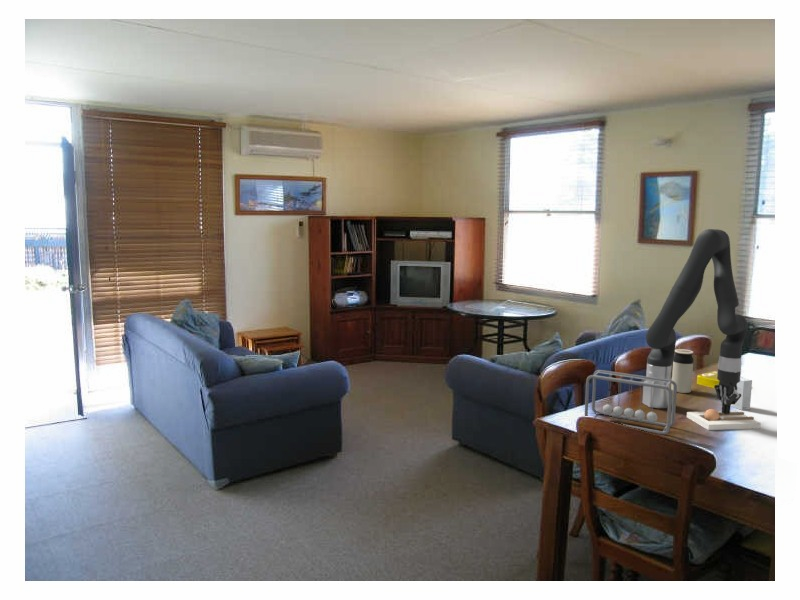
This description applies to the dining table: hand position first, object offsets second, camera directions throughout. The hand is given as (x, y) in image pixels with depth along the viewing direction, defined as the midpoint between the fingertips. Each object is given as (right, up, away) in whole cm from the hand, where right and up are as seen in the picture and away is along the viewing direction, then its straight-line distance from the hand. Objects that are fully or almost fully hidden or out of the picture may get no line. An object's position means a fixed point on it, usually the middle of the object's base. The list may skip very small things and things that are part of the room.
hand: (725, 413), depth 228 cm
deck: (-1, -3, 0) cm, 4 cm away
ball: (-5, -1, 0) cm, 5 cm away
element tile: (+24, +3, +50) cm, 56 cm away
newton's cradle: (-37, -4, -1) cm, 37 cm away
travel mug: (+2, +2, +40) cm, 41 cm away
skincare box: (+15, -1, +18) cm, 24 cm away
